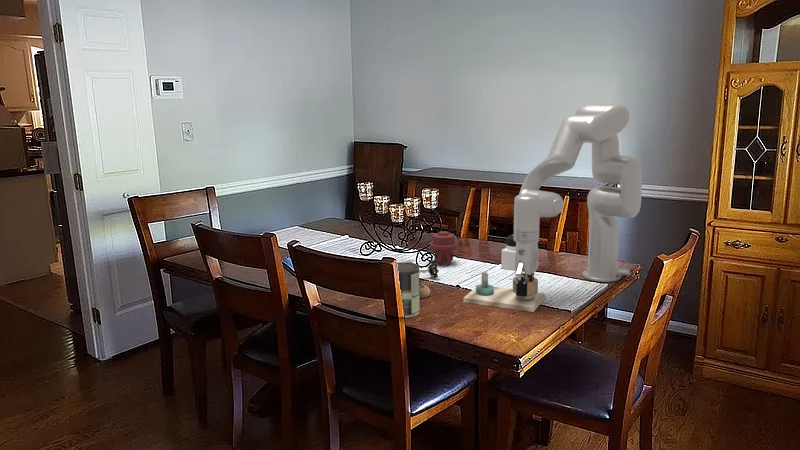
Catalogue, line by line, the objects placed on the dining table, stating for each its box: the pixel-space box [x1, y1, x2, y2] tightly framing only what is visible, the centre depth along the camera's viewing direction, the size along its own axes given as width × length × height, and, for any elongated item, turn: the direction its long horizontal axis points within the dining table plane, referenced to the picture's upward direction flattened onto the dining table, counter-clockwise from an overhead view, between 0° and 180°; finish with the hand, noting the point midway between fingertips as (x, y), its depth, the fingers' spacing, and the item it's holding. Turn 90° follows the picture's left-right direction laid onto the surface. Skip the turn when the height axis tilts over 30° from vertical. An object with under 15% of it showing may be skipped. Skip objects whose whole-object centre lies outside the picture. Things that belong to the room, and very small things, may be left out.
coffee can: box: [396, 261, 421, 319], centre depth 183 cm, size 10×10×14 cm
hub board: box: [462, 271, 546, 313], centre depth 192 cm, size 22×14×8 cm, turn 63°
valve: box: [406, 259, 440, 279], centre depth 216 cm, size 7×7×12 cm
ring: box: [512, 276, 539, 296], centre depth 189 cm, size 7×7×4 cm
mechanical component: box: [429, 230, 458, 267], centre depth 234 cm, size 12×10×10 cm
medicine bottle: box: [500, 234, 516, 272], centre depth 227 cm, size 7×7×12 cm
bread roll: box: [419, 282, 431, 299], centre depth 201 cm, size 11×11×5 cm
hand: (525, 291), depth 190 cm, fingers closed on ring, 7 cm apart
